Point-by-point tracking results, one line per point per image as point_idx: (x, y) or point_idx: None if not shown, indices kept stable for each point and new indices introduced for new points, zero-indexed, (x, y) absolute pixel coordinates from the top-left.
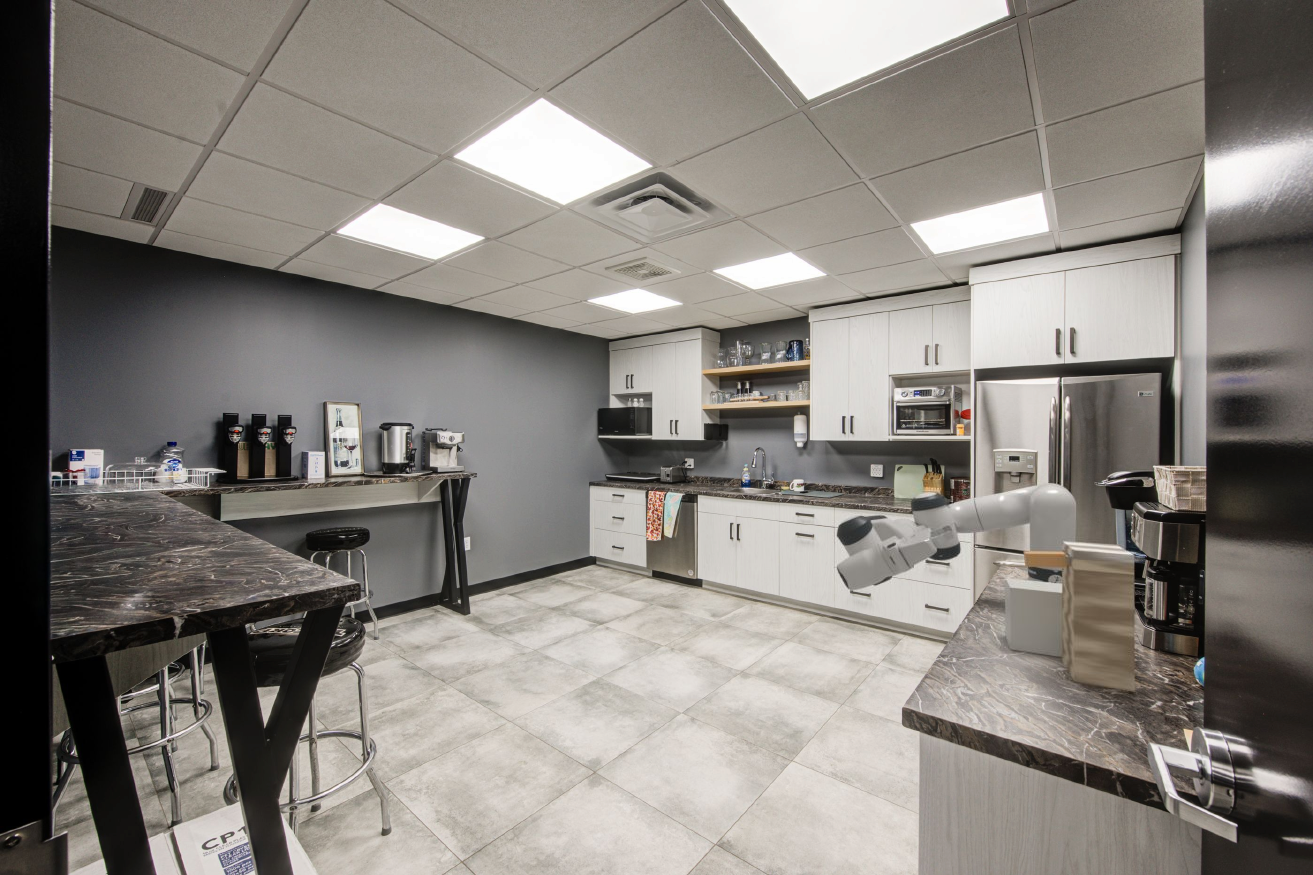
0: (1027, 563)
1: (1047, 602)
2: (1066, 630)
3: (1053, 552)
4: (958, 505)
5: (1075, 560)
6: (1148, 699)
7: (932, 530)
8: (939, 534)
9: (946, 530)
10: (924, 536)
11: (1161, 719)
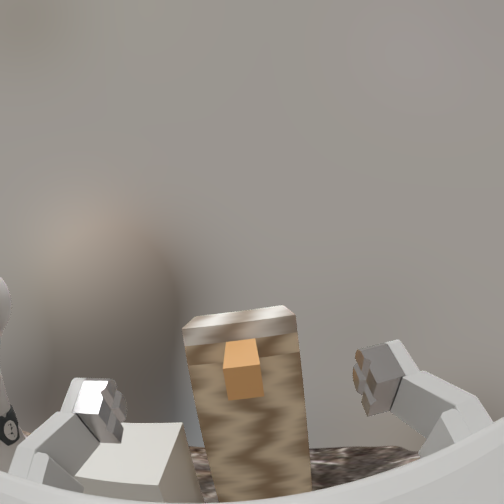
0: (262, 387)
1: (178, 465)
2: (248, 476)
3: (236, 346)
4: None
5: (297, 333)
6: (313, 466)
7: (13, 466)
8: (64, 469)
9: (111, 417)
10: (436, 496)
11: (365, 456)
